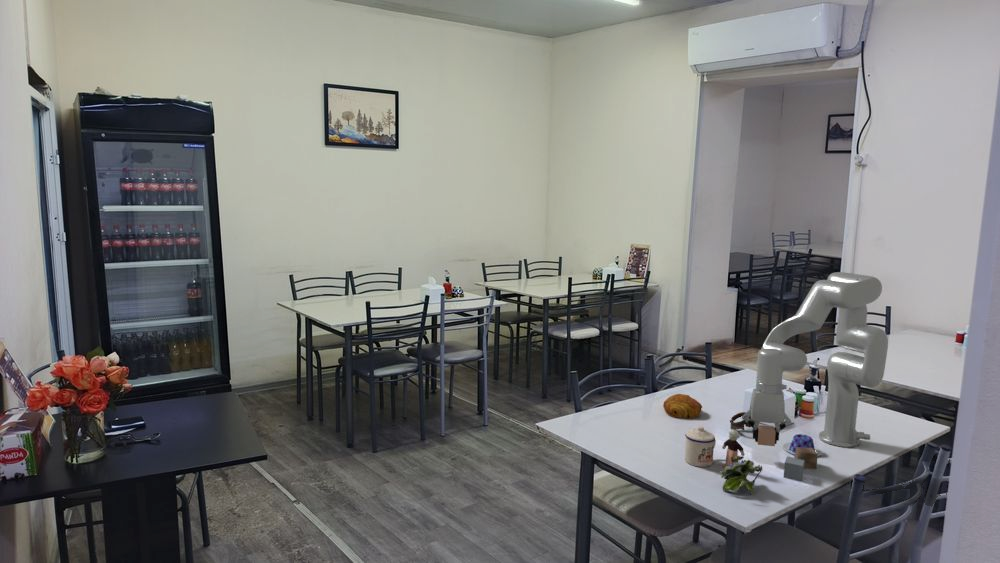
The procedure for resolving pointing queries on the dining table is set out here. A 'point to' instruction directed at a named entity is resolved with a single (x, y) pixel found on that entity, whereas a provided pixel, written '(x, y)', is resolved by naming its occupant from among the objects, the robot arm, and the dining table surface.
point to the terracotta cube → (766, 435)
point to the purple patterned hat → (801, 444)
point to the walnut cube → (807, 457)
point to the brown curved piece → (739, 424)
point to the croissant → (682, 406)
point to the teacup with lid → (699, 447)
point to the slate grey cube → (794, 468)
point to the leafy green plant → (739, 474)
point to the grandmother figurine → (732, 447)
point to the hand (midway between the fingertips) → (765, 440)
